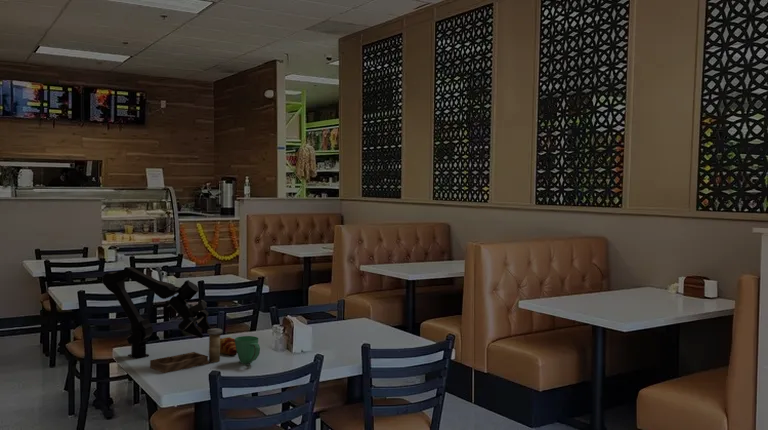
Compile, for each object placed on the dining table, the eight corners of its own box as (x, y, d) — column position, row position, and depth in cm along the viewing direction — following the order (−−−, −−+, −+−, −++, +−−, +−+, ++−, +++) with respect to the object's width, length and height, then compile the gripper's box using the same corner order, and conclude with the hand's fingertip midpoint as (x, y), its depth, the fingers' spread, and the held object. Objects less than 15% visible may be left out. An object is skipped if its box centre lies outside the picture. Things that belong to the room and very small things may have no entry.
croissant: (211, 354, 301) (203, 340, 298) (229, 342, 306) (222, 328, 304) (230, 364, 284) (222, 349, 282) (249, 350, 289) (241, 335, 287)
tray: (165, 373, 258) (165, 365, 258) (150, 367, 265) (150, 360, 265) (208, 363, 273) (208, 356, 273) (193, 358, 280) (193, 351, 280)
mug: (230, 361, 277) (230, 337, 277) (250, 357, 284) (251, 334, 283) (247, 369, 266) (247, 344, 266) (268, 365, 273) (268, 341, 272)
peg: (203, 361, 277) (204, 329, 276) (216, 358, 281) (216, 327, 281) (212, 363, 273) (213, 332, 272) (224, 361, 277) (225, 330, 277)
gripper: (185, 298, 268) (211, 326, 267) (204, 291, 286) (228, 317, 285) (167, 316, 269) (192, 344, 268) (187, 308, 288) (211, 334, 287)
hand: (207, 334), depth 277 cm, fingers open, 9 cm apart
